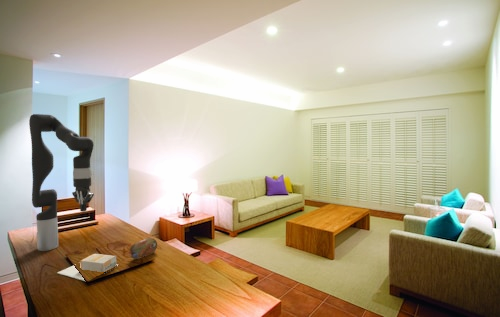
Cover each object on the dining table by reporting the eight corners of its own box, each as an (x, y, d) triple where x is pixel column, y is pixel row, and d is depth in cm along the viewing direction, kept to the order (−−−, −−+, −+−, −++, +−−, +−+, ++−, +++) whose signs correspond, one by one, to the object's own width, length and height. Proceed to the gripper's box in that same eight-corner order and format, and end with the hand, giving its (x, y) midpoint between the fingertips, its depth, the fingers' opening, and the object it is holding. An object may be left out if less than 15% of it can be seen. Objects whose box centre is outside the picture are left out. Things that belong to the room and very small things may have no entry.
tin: (132, 262, 130) (131, 245, 129) (128, 260, 131) (128, 244, 131) (157, 251, 142) (157, 236, 142) (153, 250, 144) (153, 235, 143)
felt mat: (57, 273, 118) (57, 272, 118) (90, 258, 133) (90, 258, 133) (87, 282, 111) (87, 281, 111) (119, 265, 126) (118, 264, 126)
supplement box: (80, 270, 120) (103, 273, 117) (79, 260, 120) (103, 263, 117) (94, 262, 128) (117, 265, 125) (94, 253, 128) (116, 255, 125)
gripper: (65, 177, 127) (67, 211, 129) (84, 178, 122) (85, 214, 124) (80, 175, 134) (81, 207, 136) (98, 176, 129) (99, 210, 131)
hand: (83, 211), depth 130 cm, fingers closed
